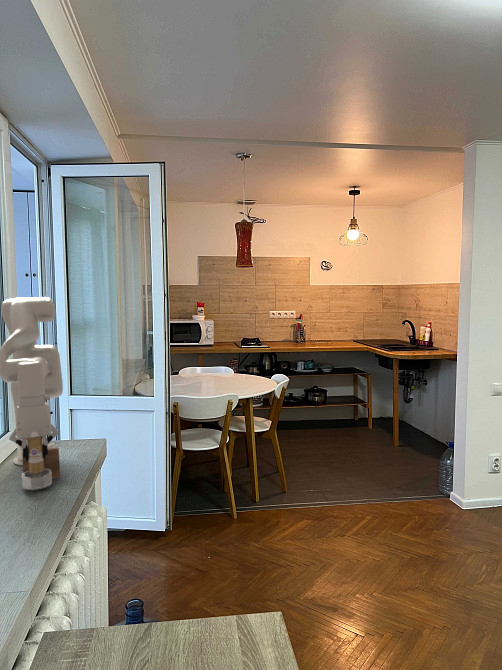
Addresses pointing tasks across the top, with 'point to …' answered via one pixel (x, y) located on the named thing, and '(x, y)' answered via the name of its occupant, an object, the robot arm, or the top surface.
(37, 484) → the cup bracket
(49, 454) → the mount board
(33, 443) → the sprinkles bottle
